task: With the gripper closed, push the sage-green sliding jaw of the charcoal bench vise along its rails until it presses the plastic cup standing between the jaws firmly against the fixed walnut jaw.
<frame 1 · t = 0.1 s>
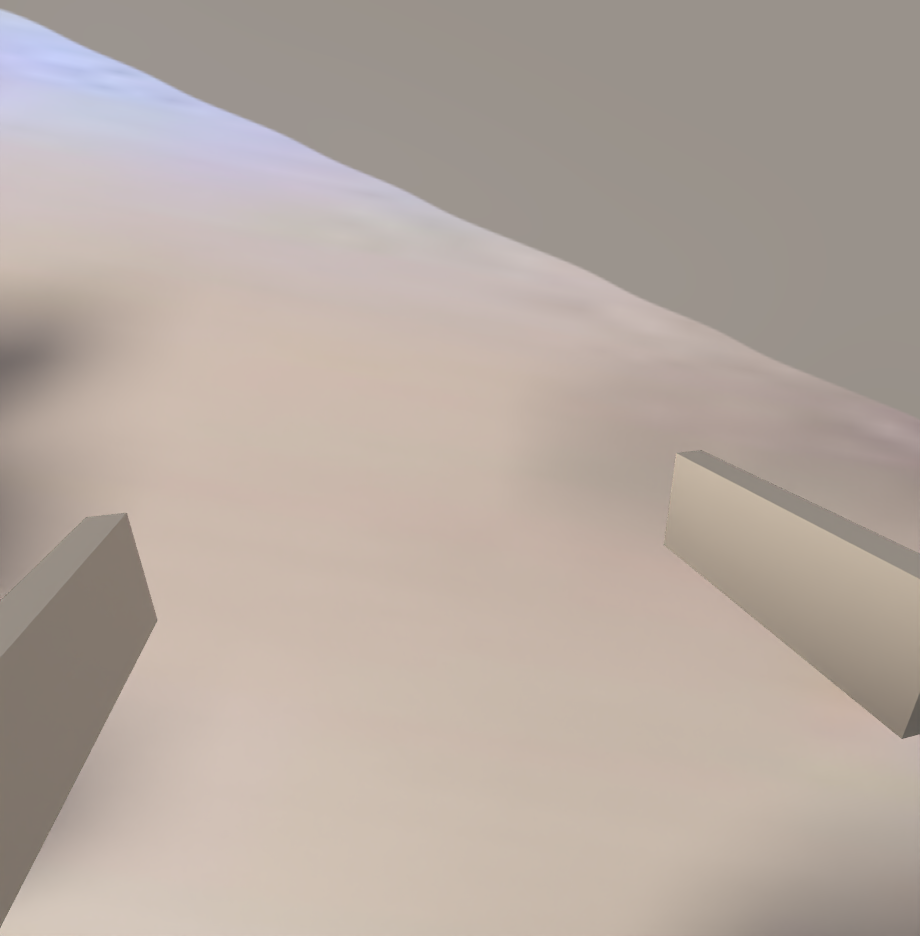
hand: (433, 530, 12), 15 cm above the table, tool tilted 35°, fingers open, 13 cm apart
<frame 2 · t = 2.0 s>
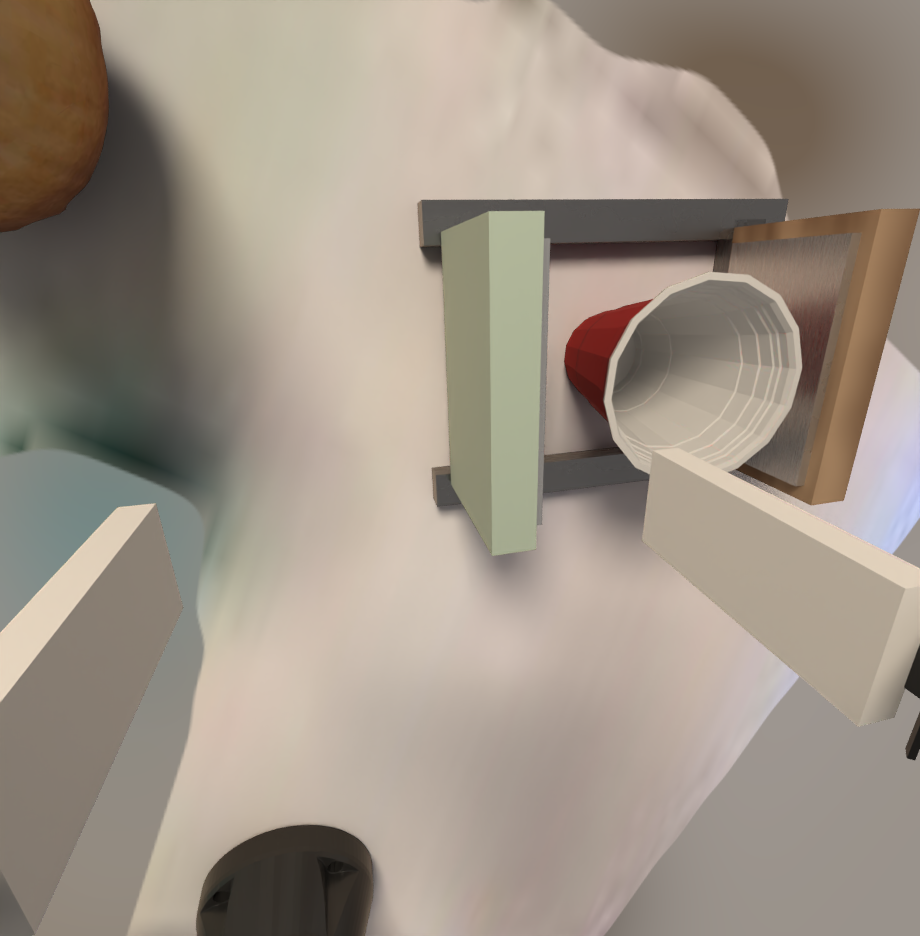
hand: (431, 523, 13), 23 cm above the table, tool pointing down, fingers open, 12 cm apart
sliding jaw: (491, 381, 28), point 7 cm above the table, slide at 0.0 cm
vise bed: (597, 353, 37), on the table
plastic cup: (596, 353, 37), resting in vise bed
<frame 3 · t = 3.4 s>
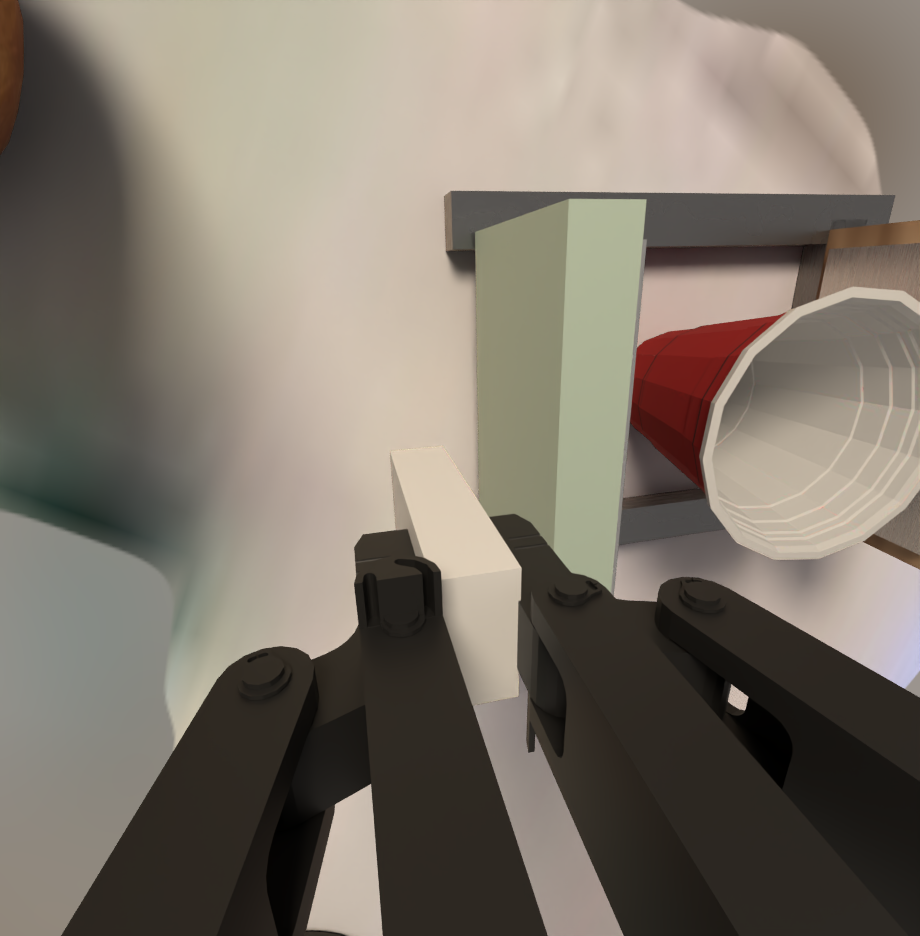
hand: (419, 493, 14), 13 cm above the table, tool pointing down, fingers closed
sliding jaw: (542, 426, 22), point 7 cm above the table, slide at 0.0 cm
vise bed: (657, 382, 30), on the table
plastic cup: (655, 381, 30), resting in vise bed
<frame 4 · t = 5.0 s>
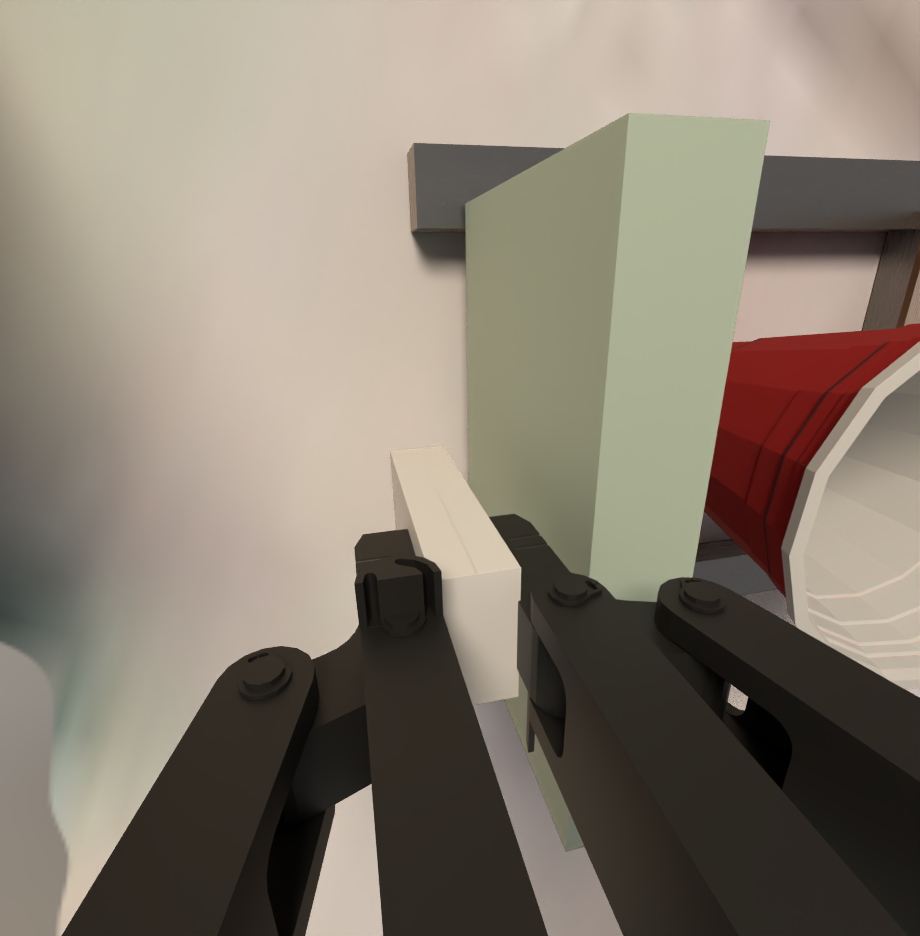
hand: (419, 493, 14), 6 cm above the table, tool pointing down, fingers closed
sliding jaw: (558, 484, 15), point 7 cm above the table, slide at 0.6 cm, touching gripper
vise bed: (691, 407, 23), on the table
plastic cup: (688, 406, 23), resting in vise bed
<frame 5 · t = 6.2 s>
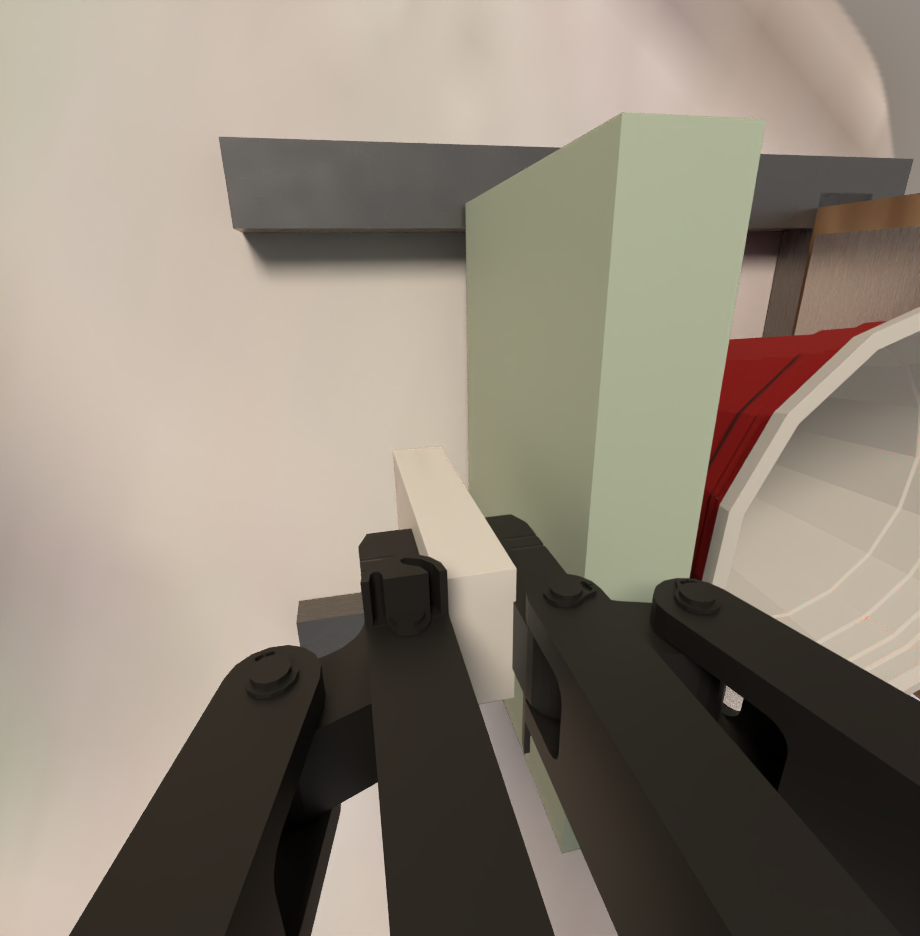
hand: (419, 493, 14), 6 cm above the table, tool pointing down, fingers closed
sliding jaw: (556, 485, 15), point 7 cm above the table, slide at 6.2 cm, touching gripper, plastic cup
vise bed: (577, 417, 22), on the table
plastic cup: (611, 413, 22), resting in vise bed, touching sliding jaw
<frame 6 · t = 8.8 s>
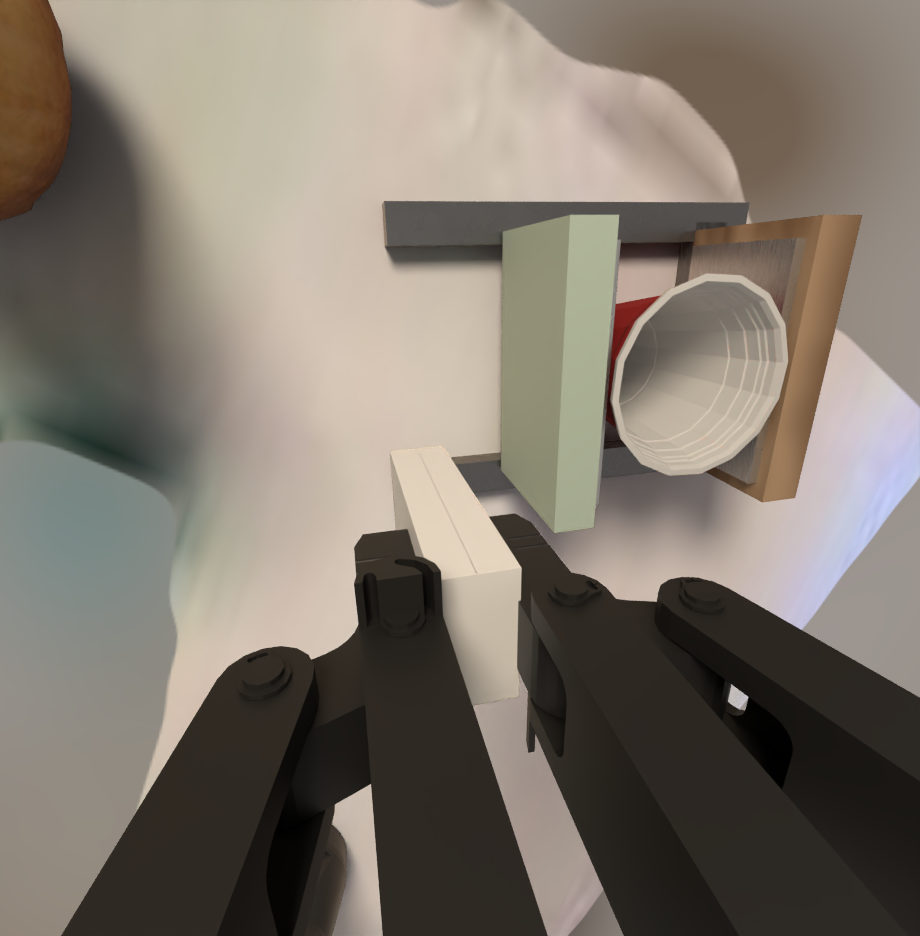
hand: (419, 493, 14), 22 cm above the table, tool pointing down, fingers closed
sliding jaw: (550, 372, 30), point 7 cm above the table, slide at 6.2 cm, touching plastic cup
vise bed: (563, 352, 37), on the table
plastic cup: (582, 350, 37), resting in vise bed, touching sliding jaw
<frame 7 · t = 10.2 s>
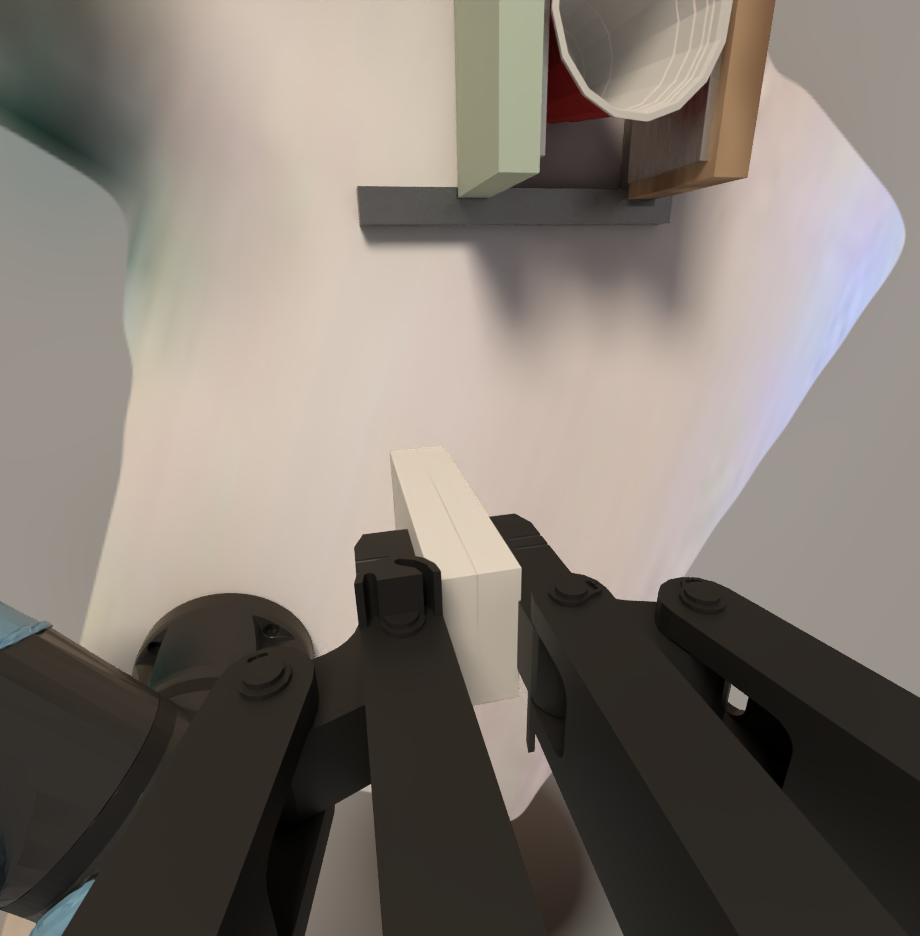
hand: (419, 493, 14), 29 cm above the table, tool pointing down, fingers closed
sliding jaw: (498, 34, 30), point 7 cm above the table, slide at 6.2 cm, touching plastic cup
vise bed: (520, 78, 37), on the table
plastic cup: (540, 77, 37), resting in vise bed, touching sliding jaw
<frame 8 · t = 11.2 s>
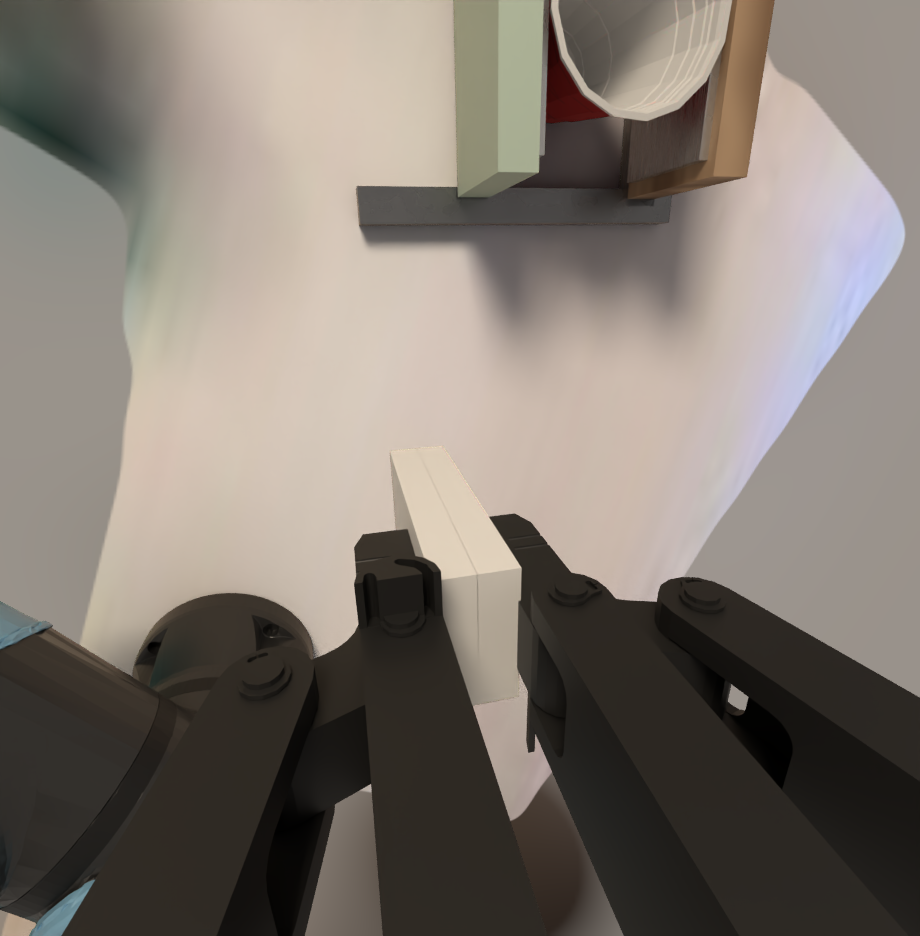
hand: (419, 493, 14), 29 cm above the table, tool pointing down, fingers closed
sliding jaw: (497, 33, 30), point 7 cm above the table, slide at 6.2 cm, touching plastic cup
vise bed: (520, 78, 37), on the table
plastic cup: (540, 76, 37), resting in vise bed, touching sliding jaw
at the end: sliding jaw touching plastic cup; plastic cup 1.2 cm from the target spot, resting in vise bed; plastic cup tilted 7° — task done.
